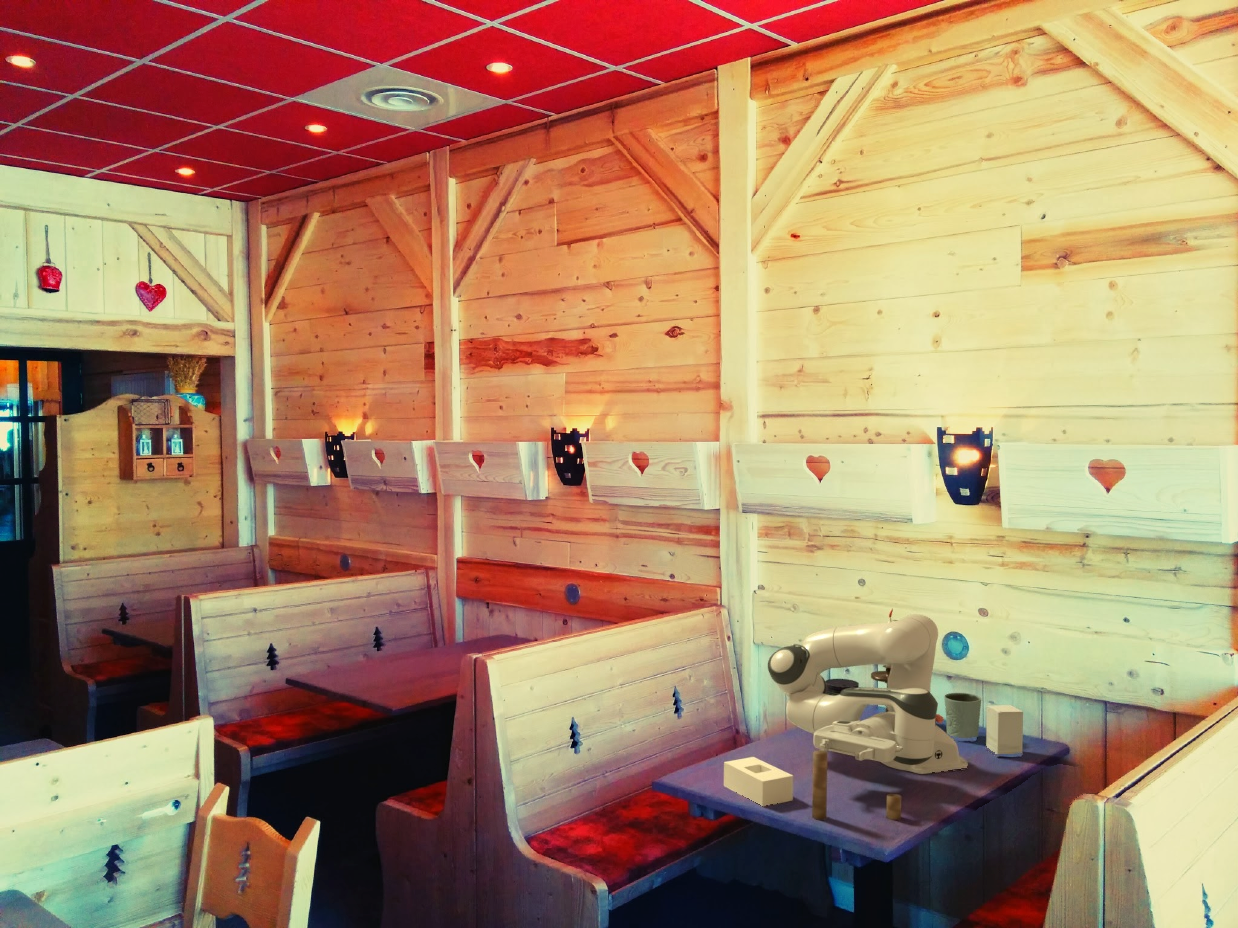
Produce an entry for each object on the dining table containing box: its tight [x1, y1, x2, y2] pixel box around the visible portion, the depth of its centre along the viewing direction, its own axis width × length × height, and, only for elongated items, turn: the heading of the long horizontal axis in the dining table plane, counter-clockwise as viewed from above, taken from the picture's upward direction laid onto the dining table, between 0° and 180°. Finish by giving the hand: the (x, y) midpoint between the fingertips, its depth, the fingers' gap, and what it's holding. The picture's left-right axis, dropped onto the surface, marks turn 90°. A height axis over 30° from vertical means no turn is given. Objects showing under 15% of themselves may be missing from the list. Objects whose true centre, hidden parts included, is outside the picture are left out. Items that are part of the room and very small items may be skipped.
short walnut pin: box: [886, 793, 902, 821], centre depth 238 cm, size 3×3×5 cm
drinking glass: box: [943, 692, 982, 738], centre depth 300 cm, size 10×10×12 cm
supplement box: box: [985, 704, 1024, 754], centre depth 286 cm, size 7×7×13 cm
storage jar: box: [825, 678, 860, 696], centre depth 304 cm, size 10×10×15 cm
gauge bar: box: [723, 756, 794, 807], centre depth 253 cm, size 9×16×6 cm, turn 29°
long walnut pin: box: [811, 750, 828, 821], centre depth 238 cm, size 3×3×15 cm
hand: (839, 752), depth 246 cm, fingers open, 8 cm apart
